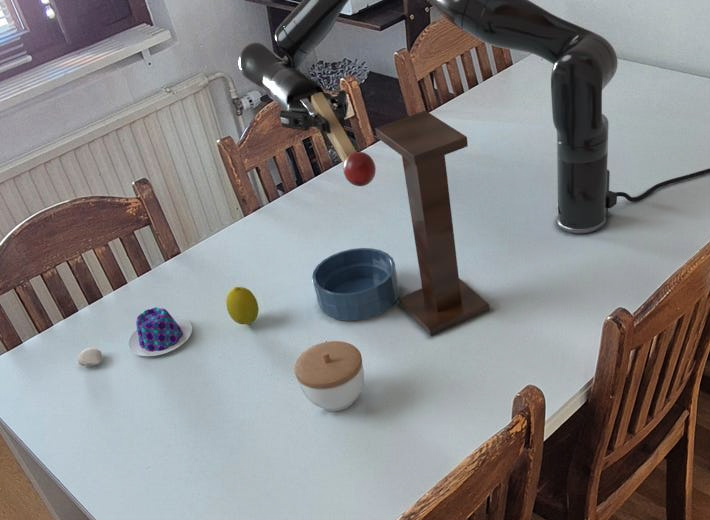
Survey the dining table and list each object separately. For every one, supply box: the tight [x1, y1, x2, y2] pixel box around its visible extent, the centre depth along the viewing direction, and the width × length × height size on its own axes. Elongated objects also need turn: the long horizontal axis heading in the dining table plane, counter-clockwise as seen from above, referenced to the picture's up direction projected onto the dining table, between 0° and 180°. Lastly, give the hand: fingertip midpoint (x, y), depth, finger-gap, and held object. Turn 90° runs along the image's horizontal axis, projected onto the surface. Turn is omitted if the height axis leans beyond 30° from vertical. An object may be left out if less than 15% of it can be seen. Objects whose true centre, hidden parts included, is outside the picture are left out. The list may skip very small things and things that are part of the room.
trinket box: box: [293, 340, 365, 412], centre depth 129 cm, size 11×11×9 cm
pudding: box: [127, 307, 193, 357], centre depth 149 cm, size 12×12×5 cm
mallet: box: [311, 92, 377, 187], centre depth 138 cm, size 19×5×5 cm
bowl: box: [311, 247, 400, 321], centre depth 150 cm, size 15×15×6 cm
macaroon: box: [76, 347, 103, 367], centre depth 147 cm, size 4×5×2 cm
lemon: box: [225, 286, 259, 326], centre depth 148 cm, size 6×6×8 cm
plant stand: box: [375, 110, 490, 337], centre depth 135 cm, size 13×12×32 cm
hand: (334, 125), depth 138 cm, fingers closed on mallet
